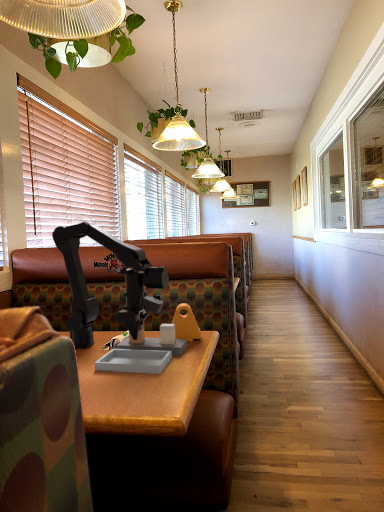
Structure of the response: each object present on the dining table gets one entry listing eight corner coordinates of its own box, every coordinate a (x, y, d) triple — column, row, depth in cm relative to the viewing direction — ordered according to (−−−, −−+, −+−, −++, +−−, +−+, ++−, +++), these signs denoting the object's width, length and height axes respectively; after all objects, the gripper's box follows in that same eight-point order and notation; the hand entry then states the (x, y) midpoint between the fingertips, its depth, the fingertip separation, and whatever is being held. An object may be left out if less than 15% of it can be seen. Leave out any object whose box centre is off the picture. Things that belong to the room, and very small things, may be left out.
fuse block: (116, 353, 113) (116, 345, 112) (127, 344, 121) (127, 337, 121) (180, 355, 109) (180, 347, 108) (187, 346, 117) (187, 338, 117)
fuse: (160, 351, 113) (159, 325, 113) (163, 349, 116) (162, 323, 115) (173, 352, 112) (172, 326, 112) (175, 349, 115) (174, 324, 114)
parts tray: (94, 370, 98) (94, 362, 98) (113, 356, 110) (112, 348, 110) (160, 374, 95) (159, 365, 95) (171, 358, 106) (171, 351, 106)
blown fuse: (129, 350, 115) (128, 325, 114) (132, 347, 118) (131, 323, 117) (141, 351, 114) (141, 325, 114) (144, 348, 117) (144, 323, 116)
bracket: (199, 335, 131) (198, 301, 130) (200, 340, 124) (199, 305, 123) (169, 336, 131) (168, 302, 130) (168, 342, 123) (167, 306, 123)
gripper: (150, 293, 104) (152, 348, 105) (168, 284, 122) (169, 331, 123) (113, 293, 106) (115, 347, 107) (136, 284, 125) (137, 330, 125)
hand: (136, 338), depth 116 cm, fingers closed on blown fuse, 3 cm apart
